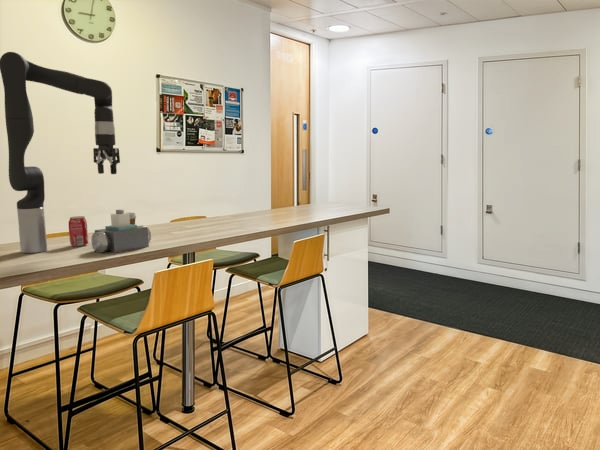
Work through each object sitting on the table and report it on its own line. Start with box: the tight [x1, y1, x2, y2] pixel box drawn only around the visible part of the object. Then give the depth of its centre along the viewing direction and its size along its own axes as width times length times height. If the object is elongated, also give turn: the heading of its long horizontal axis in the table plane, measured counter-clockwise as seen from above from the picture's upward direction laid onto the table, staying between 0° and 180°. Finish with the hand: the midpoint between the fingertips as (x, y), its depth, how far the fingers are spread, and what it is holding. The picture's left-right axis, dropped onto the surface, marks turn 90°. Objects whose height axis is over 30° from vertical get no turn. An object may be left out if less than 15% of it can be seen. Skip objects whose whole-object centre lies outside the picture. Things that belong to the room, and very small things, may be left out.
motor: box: [91, 224, 152, 254], centre depth 204 cm, size 12×22×9 cm, turn 145°
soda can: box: [68, 215, 89, 248], centre depth 212 cm, size 7×7×12 cm
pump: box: [110, 209, 130, 227], centre depth 203 cm, size 5×5×8 cm
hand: (107, 173), depth 208 cm, fingers open, 8 cm apart
